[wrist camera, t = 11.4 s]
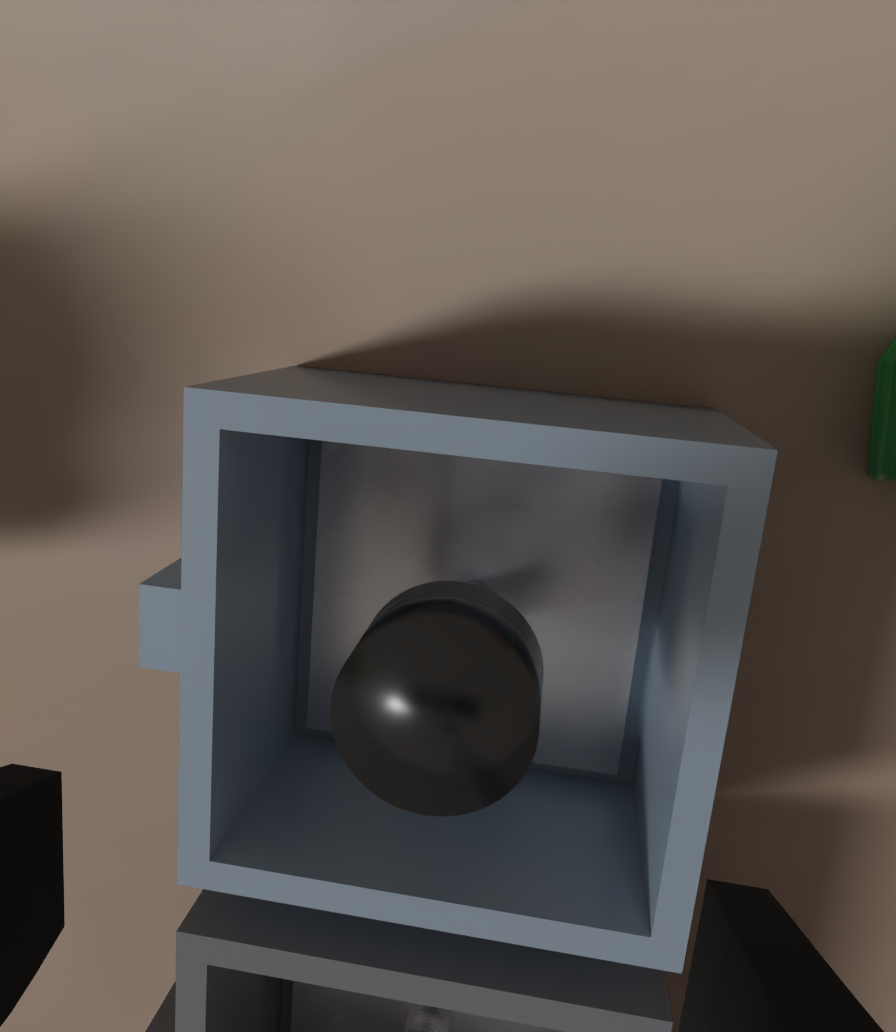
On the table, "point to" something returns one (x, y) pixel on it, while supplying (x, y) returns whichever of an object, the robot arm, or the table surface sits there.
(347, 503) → the slate-blue press plunger
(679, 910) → the slate-blue press
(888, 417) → the pattern blocks set
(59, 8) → the table surface
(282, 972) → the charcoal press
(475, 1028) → the charcoal press plunger
